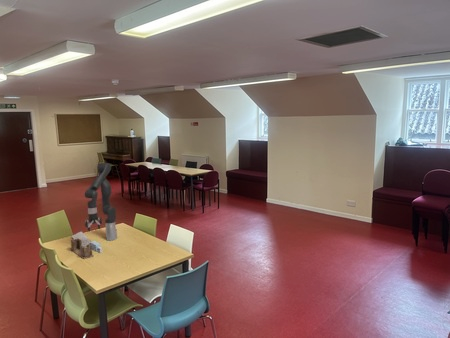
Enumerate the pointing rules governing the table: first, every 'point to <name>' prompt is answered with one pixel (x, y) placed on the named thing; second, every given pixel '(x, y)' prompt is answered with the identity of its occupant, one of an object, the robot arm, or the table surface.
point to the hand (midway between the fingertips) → (94, 230)
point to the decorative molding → (81, 238)
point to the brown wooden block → (81, 249)
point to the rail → (96, 246)
